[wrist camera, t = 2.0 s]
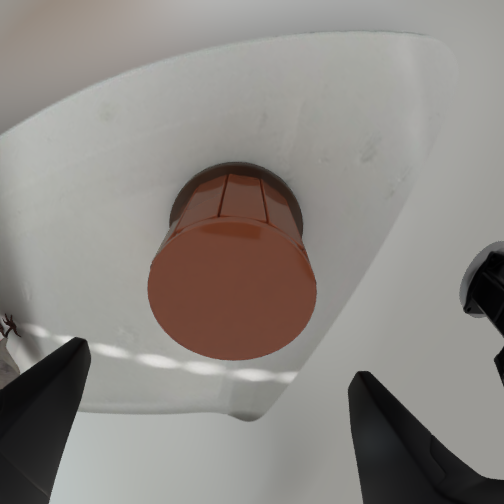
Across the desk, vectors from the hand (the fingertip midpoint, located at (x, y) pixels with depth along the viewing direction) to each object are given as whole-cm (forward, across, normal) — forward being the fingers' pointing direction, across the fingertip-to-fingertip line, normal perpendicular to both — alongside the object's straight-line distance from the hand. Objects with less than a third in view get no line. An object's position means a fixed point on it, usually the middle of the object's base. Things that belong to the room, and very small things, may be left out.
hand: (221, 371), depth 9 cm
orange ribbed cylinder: (+10, 0, 0) cm, 11 cm away
